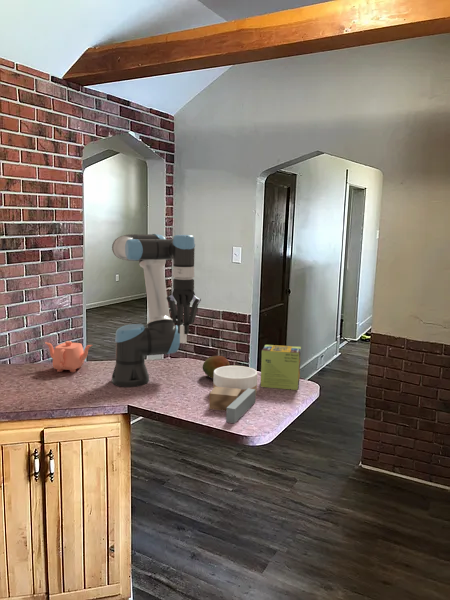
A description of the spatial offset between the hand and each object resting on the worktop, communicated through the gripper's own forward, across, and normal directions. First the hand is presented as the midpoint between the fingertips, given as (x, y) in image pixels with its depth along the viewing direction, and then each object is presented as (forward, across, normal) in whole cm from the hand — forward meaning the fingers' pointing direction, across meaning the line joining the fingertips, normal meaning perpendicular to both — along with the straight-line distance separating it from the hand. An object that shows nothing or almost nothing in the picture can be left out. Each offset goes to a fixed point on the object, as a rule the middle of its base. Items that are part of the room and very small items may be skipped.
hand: (183, 342), depth 189 cm
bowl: (+23, +14, +18) cm, 32 cm away
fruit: (+23, 0, +31) cm, 38 cm away
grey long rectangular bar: (+22, +24, -1) cm, 32 cm away
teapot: (+23, -64, +16) cm, 69 cm away
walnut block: (+23, +16, +1) cm, 28 cm away
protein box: (+23, +28, +34) cm, 50 cm away
